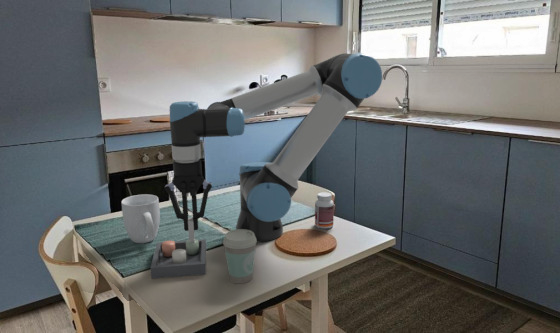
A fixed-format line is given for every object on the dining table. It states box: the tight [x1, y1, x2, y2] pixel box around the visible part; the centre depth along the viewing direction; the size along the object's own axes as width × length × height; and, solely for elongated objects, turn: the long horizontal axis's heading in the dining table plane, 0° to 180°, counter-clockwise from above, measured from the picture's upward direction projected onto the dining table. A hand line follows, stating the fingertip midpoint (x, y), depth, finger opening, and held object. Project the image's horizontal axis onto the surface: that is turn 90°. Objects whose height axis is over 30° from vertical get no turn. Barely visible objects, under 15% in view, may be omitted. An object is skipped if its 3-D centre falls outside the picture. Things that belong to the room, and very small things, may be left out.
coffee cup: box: [222, 228, 258, 284], centre depth 114 cm, size 8×9×12 cm
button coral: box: [162, 240, 175, 257], centre depth 126 cm, size 4×4×3 cm
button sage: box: [185, 238, 199, 255], centre depth 127 cm, size 4×4×3 cm
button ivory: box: [172, 249, 186, 264], centre depth 120 cm, size 4×4×3 cm
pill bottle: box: [314, 191, 335, 230], centre depth 148 cm, size 6×6×11 cm
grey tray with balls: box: [150, 239, 207, 279], centre depth 124 cm, size 14×16×3 cm
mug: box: [120, 193, 161, 244], centre depth 137 cm, size 15×11×13 cm
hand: (192, 240), depth 126 cm, fingers closed
